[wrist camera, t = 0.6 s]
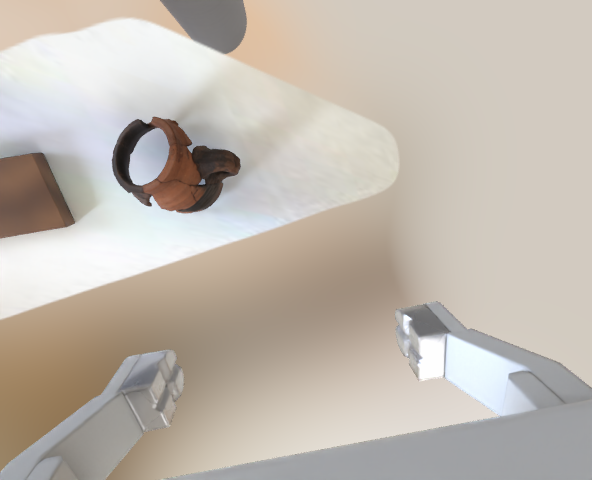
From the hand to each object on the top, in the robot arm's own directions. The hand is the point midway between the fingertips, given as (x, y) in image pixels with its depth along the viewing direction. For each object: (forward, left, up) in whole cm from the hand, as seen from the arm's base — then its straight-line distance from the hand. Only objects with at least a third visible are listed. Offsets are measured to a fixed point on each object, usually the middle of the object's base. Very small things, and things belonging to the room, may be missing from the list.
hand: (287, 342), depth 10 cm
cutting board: (-6, -32, -25) cm, 41 cm away
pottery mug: (-6, -9, -25) cm, 27 cm away
